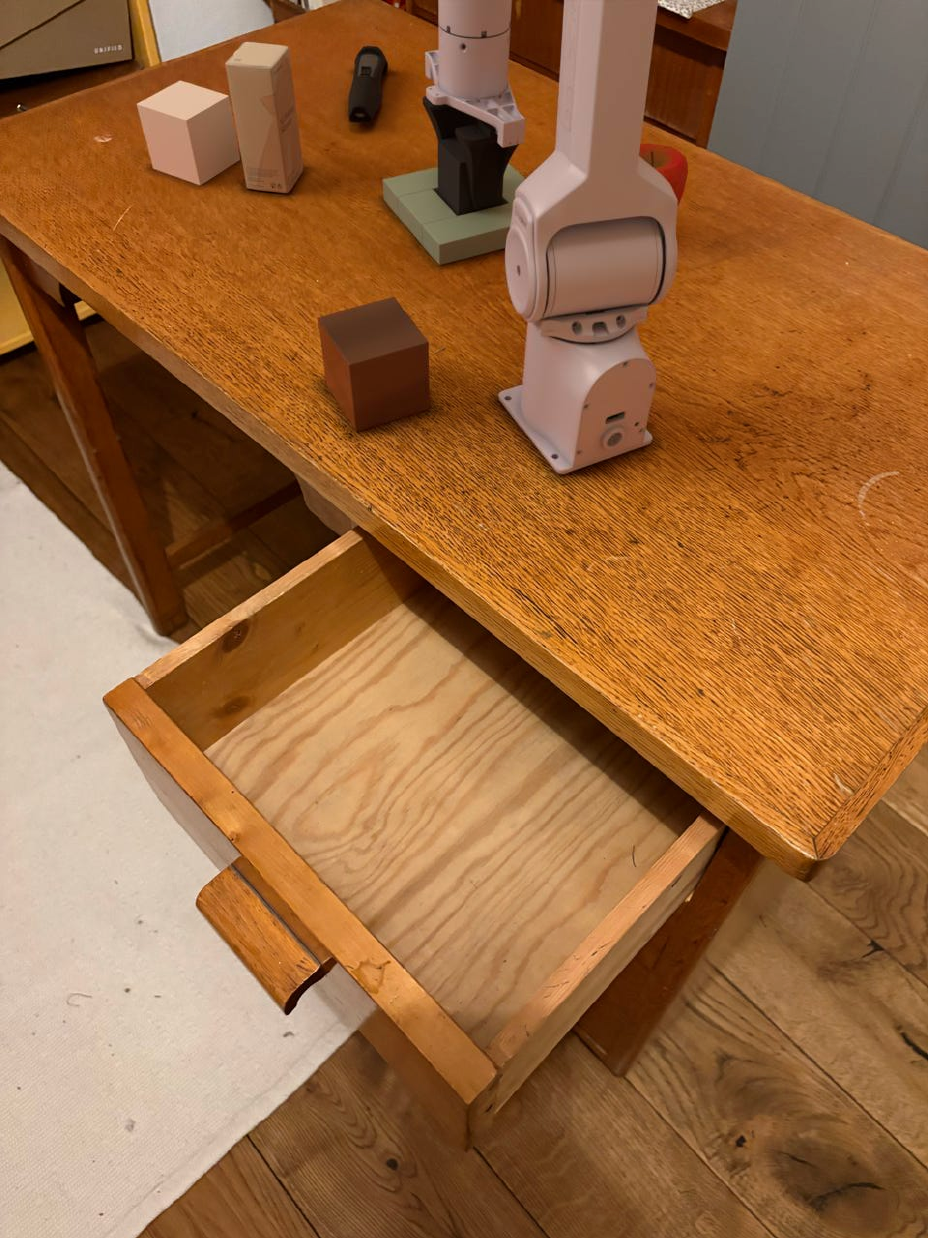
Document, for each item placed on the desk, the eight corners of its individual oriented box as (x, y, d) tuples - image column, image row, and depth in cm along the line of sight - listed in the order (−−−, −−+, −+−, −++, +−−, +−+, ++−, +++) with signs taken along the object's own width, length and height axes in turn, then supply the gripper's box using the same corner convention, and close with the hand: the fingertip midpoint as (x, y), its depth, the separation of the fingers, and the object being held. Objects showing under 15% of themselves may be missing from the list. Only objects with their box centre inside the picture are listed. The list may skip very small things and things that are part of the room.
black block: (502, 208, 83) (505, 152, 79) (458, 218, 81) (459, 162, 77) (480, 185, 85) (481, 130, 81) (437, 195, 84) (437, 140, 80)
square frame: (559, 233, 83) (561, 212, 81) (439, 265, 79) (439, 244, 78) (496, 172, 89) (498, 152, 88) (383, 199, 86) (382, 178, 84)
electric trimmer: (341, 135, 94) (338, 103, 91) (356, 68, 103) (354, 37, 100) (377, 136, 94) (375, 104, 91) (389, 69, 103) (388, 38, 100)
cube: (430, 409, 68) (429, 341, 63) (355, 432, 66) (349, 364, 61) (397, 363, 71) (394, 295, 66) (325, 384, 69) (317, 316, 64)
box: (288, 195, 86) (270, 68, 77) (245, 189, 86) (222, 63, 78) (305, 168, 89) (289, 43, 80) (263, 163, 90) (243, 38, 81)
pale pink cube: (240, 159, 90) (229, 95, 85) (200, 185, 87) (186, 120, 82) (193, 143, 92) (180, 79, 87) (152, 168, 89) (136, 103, 84)
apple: (655, 210, 85) (671, 128, 79) (686, 245, 82) (705, 161, 76) (594, 222, 84) (605, 139, 78) (623, 257, 80) (638, 173, 74)
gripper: (390, -2, 74) (397, 164, 85) (470, 68, 67) (467, 241, 77) (467, -15, 76) (464, 149, 87) (554, 52, 69) (538, 223, 79)
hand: (470, 192), depth 82 cm, fingers closed on black block, 4 cm apart
